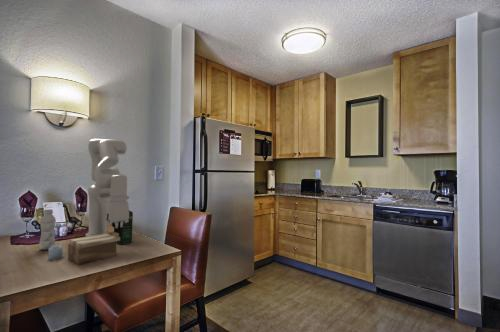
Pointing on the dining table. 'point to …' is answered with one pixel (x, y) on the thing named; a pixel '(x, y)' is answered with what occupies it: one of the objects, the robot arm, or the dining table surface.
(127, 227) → the coffee jar
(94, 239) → the lid
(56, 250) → the blue cylinder with recess
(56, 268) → the dining table surface
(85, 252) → the box
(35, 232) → the dining table surface
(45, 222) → the plastic bottle
